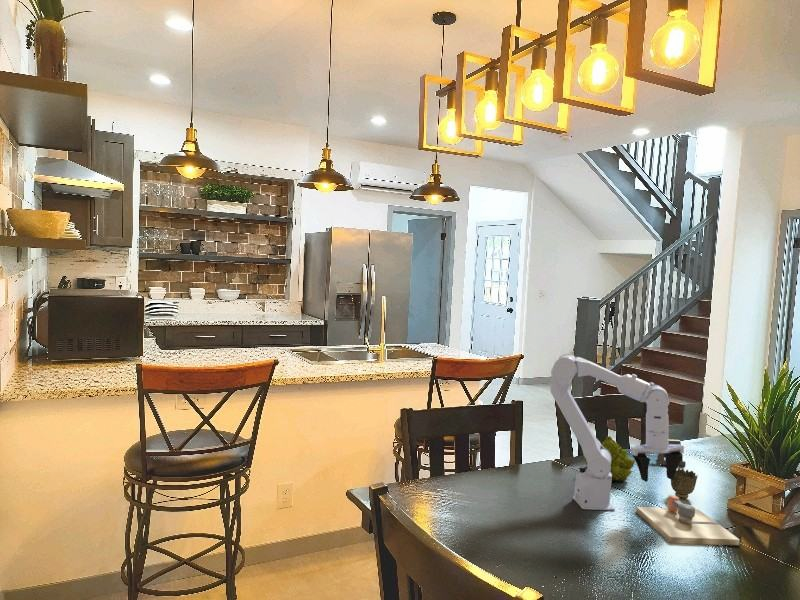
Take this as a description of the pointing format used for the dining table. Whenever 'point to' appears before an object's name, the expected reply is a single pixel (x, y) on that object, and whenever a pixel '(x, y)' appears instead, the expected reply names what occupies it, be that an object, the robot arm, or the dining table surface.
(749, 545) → the dining table surface
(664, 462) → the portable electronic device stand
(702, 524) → the base
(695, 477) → the cup
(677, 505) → the lock lever
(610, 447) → the vegetable
